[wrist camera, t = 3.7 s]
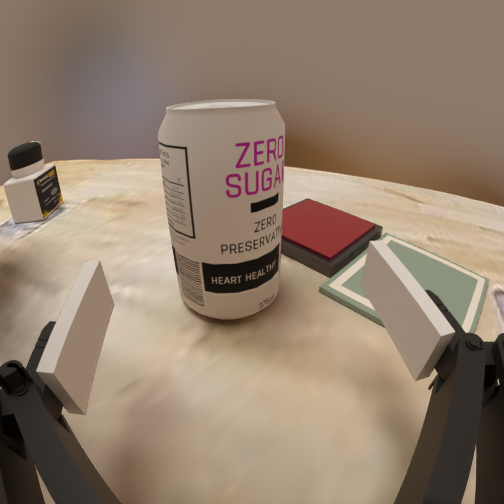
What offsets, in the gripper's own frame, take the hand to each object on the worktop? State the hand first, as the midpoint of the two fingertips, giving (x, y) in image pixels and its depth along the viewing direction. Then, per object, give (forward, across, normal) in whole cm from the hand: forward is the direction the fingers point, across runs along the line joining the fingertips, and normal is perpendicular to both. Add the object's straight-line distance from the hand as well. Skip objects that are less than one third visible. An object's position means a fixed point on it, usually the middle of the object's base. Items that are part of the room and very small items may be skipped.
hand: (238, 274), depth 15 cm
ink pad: (+17, +10, -8) cm, 21 cm away
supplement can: (+9, 0, -8) cm, 12 cm away
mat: (+6, +17, -8) cm, 19 cm away
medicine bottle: (+31, -31, -8) cm, 45 cm away
